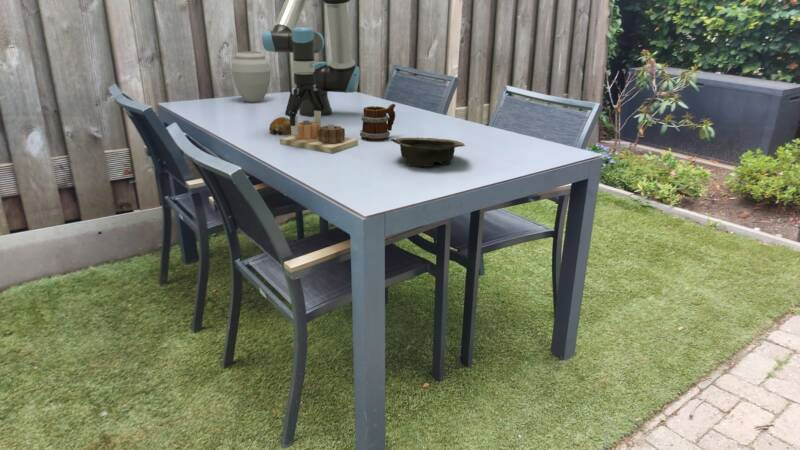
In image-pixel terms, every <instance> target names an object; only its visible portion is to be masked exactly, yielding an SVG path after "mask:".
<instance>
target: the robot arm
mask: <svg viewBox="0 0 800 450" xmlns="http://www.w3.org/2000/svg"><path fill="white" fill-rule="evenodd" d="M307 2H309V0H284V2H283V4H282V6H281V9H280V12H279V15H278V16H277V18H276V20H275V24H274V26H273V28H272V30H271V29H269V30H266V31H264V32H263V33H262V39H261V43H262V47H263V50H265V51H266V52H271V53H272V52H274V53H292V59H293V61H292V62H293V65H292V66H293V72H294V74H293V83H294V84H295V85H296V87H291V88H289V98H288V101H287V105H286V108H285V112H284V115H285V116H287V117H289V119H290V126H291V135H298V123H299V121H298V120H299V119H298V118H299V117H298V116H297V114H299V115H300V116H305V117H313V120H314V121H313V122H315V123H317V124H319V126H320V127H322V117H326V116H331V115H332V111H333V110H332V107H331V104H330V101H329V100H330V99H329V97H328V92H329V93H330V92H332V93H346V94H347V93H355V92H356V91H357V90H358V86H359V84H360V83H359V82H360V76H361V74H360V73H361V70H360V69H361V68H360V67H359V66H358V65H357V66H356V62H355V60H354V59H352V52H351V51H352V49H351V39H350V38H351V36H350V25H349V24H350V23H349V10H348V4H349V3H350V2H351V0H322V3H323V4H325V5H326V12H327V23H328V33H329V42H330V52H331V61H329V64H328V63H327V62H326V61H317V62H315V54H317V53H319V52H321V51H322V50H323V49H324V46H325V38H324V36H323V35H322V34H321V33H320V32H318V31H314V29H313V28H312V27H304V26H303V27H297V25H298V23H299V20H300V17H301V15H302V13H303V10H304V8H305V6H306V3H307Z"/></svg>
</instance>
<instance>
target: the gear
mask: <svg viewBox="0 0 800 450" xmlns="http://www.w3.org/2000/svg"><path fill="white" fill-rule="evenodd" d="M318 129H320V126H319V124H317V123H315V122H314V121H310V125H303V121H298V135H294V134H293V135H294V136H296V137H297V138H298V139H314V138H317V137H318Z"/></svg>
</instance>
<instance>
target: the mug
mask: <svg viewBox="0 0 800 450" xmlns="http://www.w3.org/2000/svg"><path fill="white" fill-rule="evenodd" d="M395 107H396V104H395V103H391V104H390V105H388V107H383V106H374V105H373V106H365V107H363V114H362V115H361V116H360V117H361V121H362V128H361V129H360V131H359V135H360V137H361V140H364V141H367V142H384V141H386V140H387V141H388V139H389V136H390V135H391V133H390V132H391V131H392V129H393V125H394V122H395V118H396V111H395Z"/></svg>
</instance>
